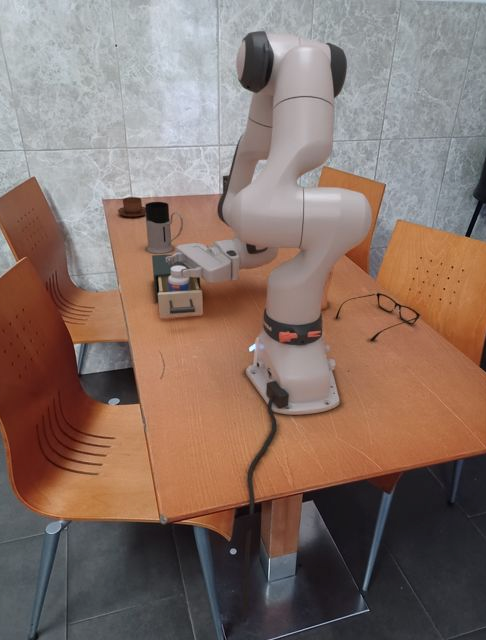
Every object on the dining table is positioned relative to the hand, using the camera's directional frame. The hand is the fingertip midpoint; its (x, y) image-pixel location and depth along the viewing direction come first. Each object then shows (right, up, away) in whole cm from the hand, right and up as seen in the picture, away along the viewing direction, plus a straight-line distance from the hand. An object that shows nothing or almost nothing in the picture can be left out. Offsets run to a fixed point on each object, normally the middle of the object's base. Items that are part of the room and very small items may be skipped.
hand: (174, 267), depth 126 cm
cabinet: (-2, -4, +17) cm, 17 cm away
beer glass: (+37, -9, +11) cm, 40 cm away
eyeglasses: (+51, -14, +3) cm, 53 cm away
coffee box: (+13, +32, +77) cm, 84 cm away
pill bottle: (+1, -9, +6) cm, 10 cm away
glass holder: (-9, +13, +44) cm, 47 cm away
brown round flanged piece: (-28, +34, +78) cm, 90 cm away
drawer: (+1, -11, +4) cm, 11 cm away
